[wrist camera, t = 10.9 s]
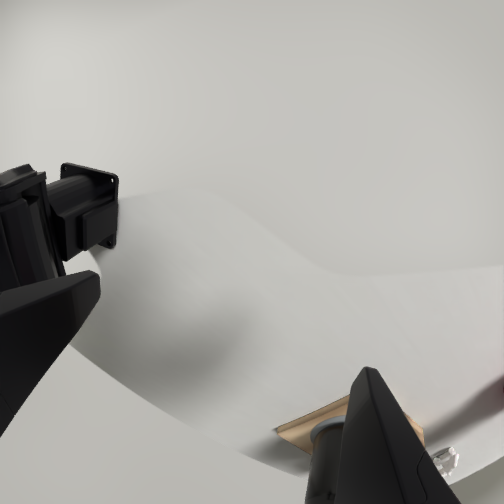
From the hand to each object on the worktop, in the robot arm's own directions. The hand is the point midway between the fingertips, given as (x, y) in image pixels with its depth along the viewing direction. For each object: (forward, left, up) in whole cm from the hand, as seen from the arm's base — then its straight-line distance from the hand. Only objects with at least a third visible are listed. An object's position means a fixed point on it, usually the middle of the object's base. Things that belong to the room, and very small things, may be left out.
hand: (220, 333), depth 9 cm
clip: (+29, -23, -13) cm, 39 cm away
